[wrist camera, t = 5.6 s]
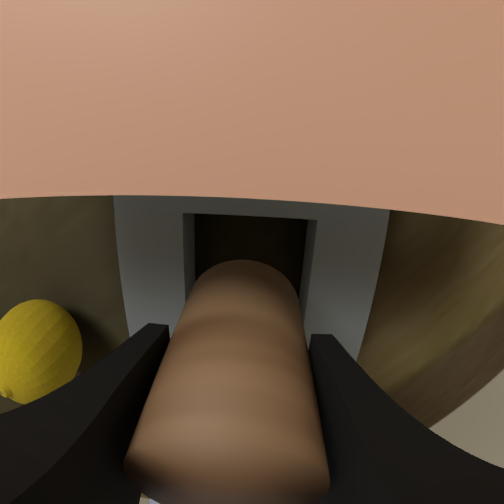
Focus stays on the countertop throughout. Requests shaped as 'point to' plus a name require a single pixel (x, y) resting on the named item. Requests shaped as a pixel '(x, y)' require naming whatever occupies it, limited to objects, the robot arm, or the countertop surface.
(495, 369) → the countertop surface
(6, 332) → the lemon
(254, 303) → the peg
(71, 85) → the orange bridge
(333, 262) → the socket
